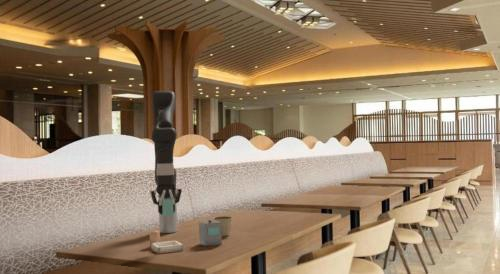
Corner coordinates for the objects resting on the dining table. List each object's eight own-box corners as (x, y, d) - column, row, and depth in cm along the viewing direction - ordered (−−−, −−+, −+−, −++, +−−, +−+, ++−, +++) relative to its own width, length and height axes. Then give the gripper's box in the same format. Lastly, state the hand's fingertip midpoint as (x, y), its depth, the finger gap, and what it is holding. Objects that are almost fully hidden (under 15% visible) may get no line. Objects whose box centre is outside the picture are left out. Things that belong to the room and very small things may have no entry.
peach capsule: (148, 246, 230) (148, 231, 230) (158, 245, 232) (158, 229, 232) (151, 248, 226) (150, 232, 226) (161, 247, 228) (160, 231, 228)
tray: (151, 248, 225) (151, 243, 225) (175, 245, 229) (175, 240, 229) (158, 253, 215) (157, 247, 215) (183, 250, 219) (183, 244, 219)
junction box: (199, 244, 232) (198, 220, 232) (216, 241, 235) (215, 218, 235) (205, 246, 225) (204, 222, 225) (222, 244, 229) (221, 220, 229)
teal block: (160, 215, 223) (159, 199, 223) (170, 214, 225) (169, 198, 225) (163, 216, 219) (162, 199, 219) (173, 215, 221) (172, 199, 221)
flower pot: (215, 237, 246) (215, 219, 246) (211, 234, 255) (211, 217, 255) (234, 236, 248) (234, 218, 248) (230, 233, 257) (229, 215, 257)
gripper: (178, 172, 229) (179, 211, 228) (146, 174, 223) (148, 214, 222) (184, 173, 222) (185, 213, 222) (151, 175, 216) (152, 216, 215)
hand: (166, 213), depth 222 cm, fingers closed on teal block, 4 cm apart
